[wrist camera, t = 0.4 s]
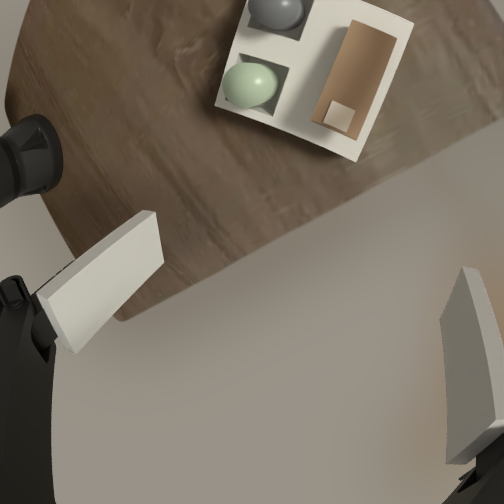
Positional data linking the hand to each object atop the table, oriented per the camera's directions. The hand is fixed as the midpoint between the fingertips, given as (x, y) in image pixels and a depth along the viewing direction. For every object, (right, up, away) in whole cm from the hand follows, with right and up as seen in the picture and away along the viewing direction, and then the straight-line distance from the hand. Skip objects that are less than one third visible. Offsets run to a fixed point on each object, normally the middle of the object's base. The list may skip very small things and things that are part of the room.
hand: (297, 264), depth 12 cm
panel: (+5, +20, +15) cm, 25 cm away
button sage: (-1, +17, +15) cm, 23 cm away
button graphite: (+1, +23, +10) cm, 25 cm away
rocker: (+7, +15, +9) cm, 19 cm away
